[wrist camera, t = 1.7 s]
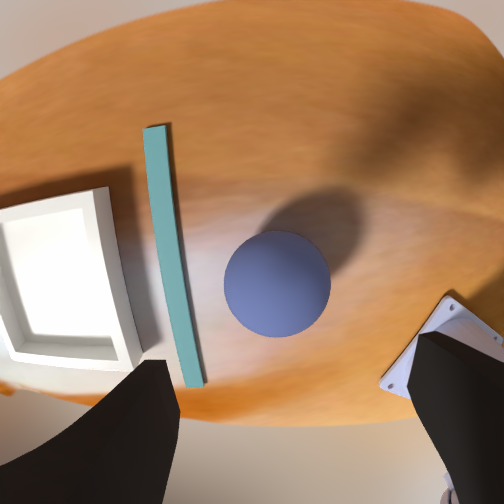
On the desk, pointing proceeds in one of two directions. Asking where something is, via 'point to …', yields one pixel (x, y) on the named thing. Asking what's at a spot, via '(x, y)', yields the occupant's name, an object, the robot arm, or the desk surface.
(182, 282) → the teal line
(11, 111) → the desk surface
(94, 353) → the tray
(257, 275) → the ball
